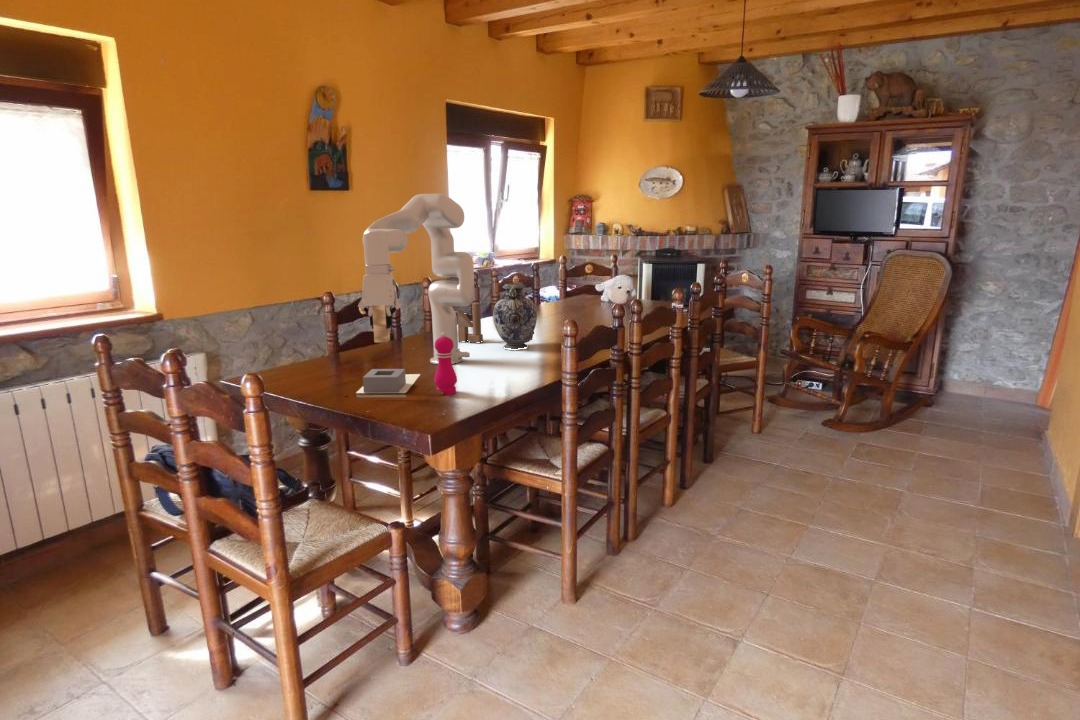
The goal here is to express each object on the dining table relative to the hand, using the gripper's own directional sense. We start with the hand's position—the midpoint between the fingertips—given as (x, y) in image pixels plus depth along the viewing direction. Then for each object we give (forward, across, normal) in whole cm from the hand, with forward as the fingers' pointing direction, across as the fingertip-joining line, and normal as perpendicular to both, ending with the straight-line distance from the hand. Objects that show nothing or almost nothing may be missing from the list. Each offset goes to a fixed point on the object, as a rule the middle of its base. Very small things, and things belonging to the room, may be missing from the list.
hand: (381, 327), depth 205 cm
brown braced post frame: (+21, -18, -82) cm, 87 cm away
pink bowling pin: (+22, -20, +1) cm, 30 cm away
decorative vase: (+21, -39, -69) cm, 82 cm away
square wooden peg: (+4, 0, 0) cm, 4 cm away
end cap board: (+21, 0, -6) cm, 22 cm away
